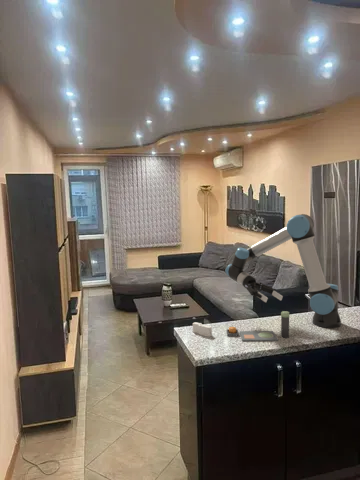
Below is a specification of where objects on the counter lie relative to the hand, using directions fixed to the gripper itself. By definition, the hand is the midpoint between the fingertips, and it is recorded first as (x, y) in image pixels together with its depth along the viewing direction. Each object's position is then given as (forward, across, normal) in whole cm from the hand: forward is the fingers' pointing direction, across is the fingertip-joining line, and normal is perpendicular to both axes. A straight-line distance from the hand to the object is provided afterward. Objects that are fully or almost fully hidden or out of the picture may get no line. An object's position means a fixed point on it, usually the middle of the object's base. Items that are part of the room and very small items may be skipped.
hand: (274, 299), depth 191 cm
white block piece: (-16, +28, -29) cm, 44 cm away
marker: (+14, 0, -14) cm, 20 cm away
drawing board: (+5, +10, -19) cm, 22 cm away
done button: (-6, +17, -23) cm, 29 cm away
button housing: (-6, +17, -23) cm, 29 cm away
